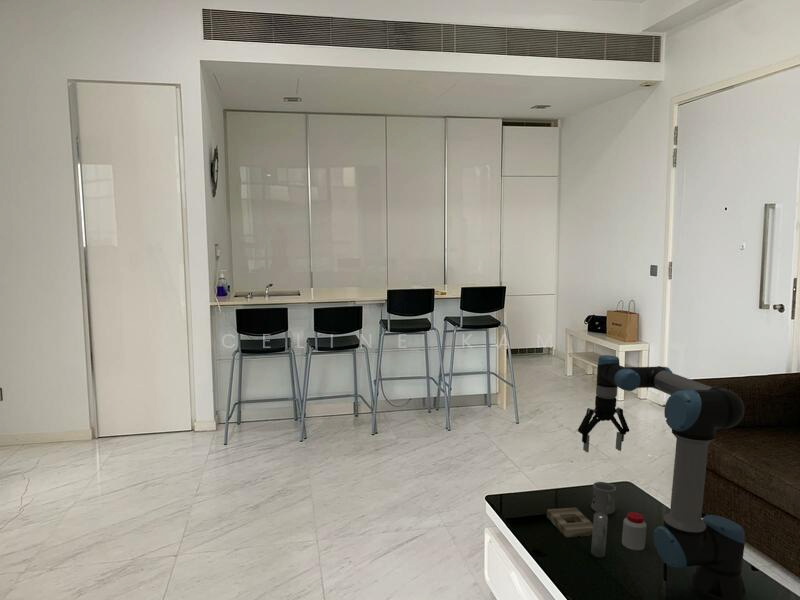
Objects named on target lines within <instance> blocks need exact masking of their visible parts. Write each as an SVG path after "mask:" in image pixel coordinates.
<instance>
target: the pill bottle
mask: <svg viewBox="0 0 800 600" xmlns="http://www.w3.org/2000/svg"><path fill="white" fill-rule="evenodd" d="M644 518H645V517H644V515H643V514H641V513H639V512H635V511H629V512H627V513H626V517H625V518H624V519H623V522H622V523H623V524H622V533H621V544H622V545H623V547H625V548H627V549H629V550H632V551H642V550H645V548H646V537H647V526H648V525H647V522H646V521H645V519H644Z"/></svg>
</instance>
